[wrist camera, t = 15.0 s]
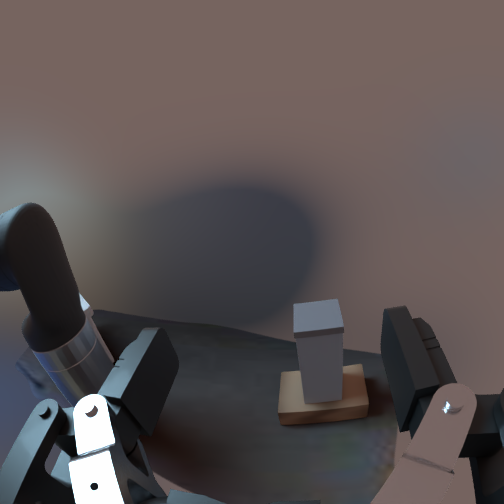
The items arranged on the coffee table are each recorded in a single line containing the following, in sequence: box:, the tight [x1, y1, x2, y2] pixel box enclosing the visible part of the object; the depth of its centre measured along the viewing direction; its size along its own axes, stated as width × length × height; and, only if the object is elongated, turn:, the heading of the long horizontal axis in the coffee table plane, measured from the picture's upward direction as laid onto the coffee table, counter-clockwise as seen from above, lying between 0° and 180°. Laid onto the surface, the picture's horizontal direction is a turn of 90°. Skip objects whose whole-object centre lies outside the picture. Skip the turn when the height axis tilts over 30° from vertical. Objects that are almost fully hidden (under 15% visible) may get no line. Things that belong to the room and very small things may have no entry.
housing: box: [294, 299, 344, 404], centre depth 31 cm, size 5×5×12 cm
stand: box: [278, 364, 369, 425], centre depth 34 cm, size 11×7×3 cm, turn 82°
